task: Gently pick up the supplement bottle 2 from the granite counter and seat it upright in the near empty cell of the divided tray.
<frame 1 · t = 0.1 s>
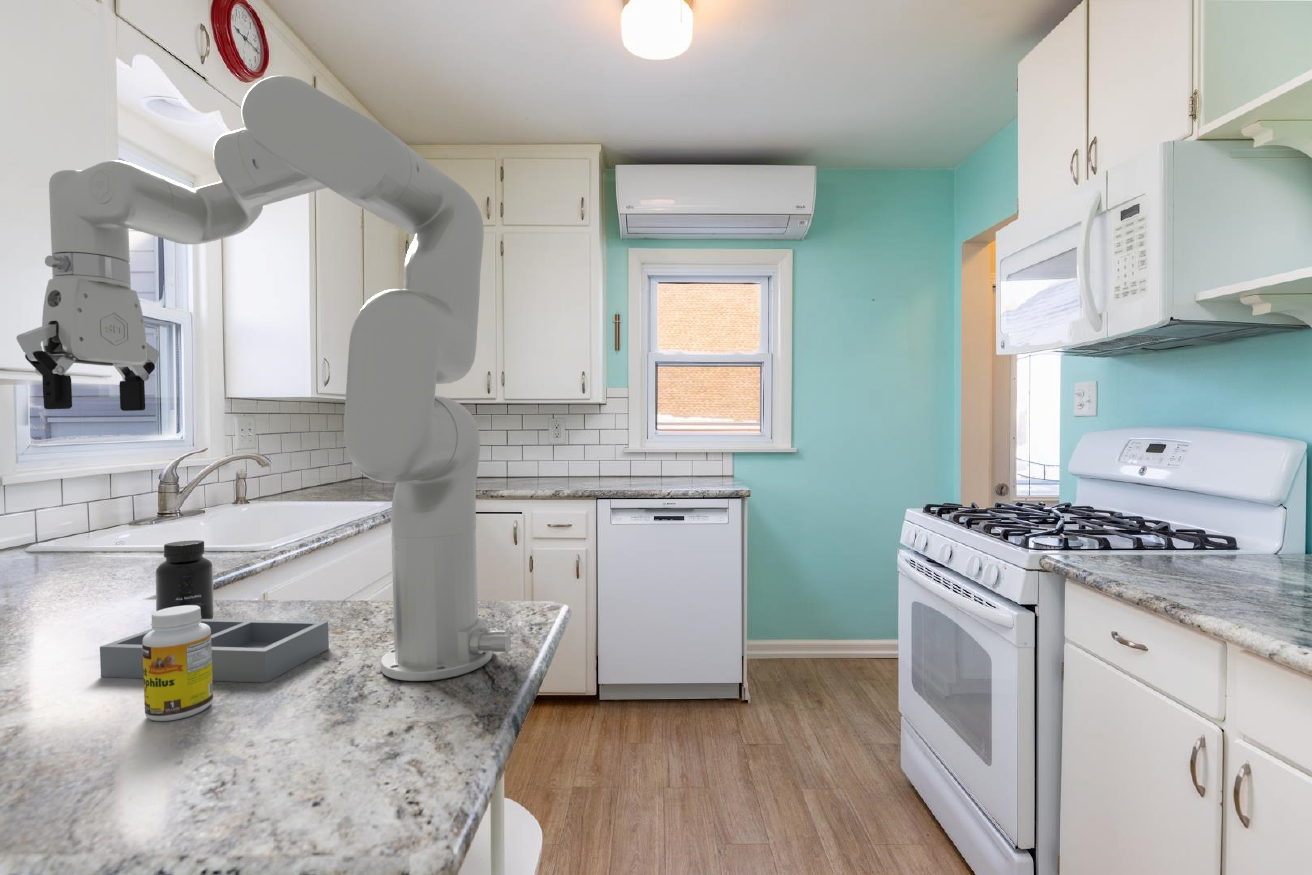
hand: (97, 409, 83), 31 cm above the counter, tool pointing down, fingers open, 9 cm apart
divided tray: (220, 662, 79), on the counter
supplement bottle: (186, 625, 96), on the counter
supplement bottle 2: (180, 713, 66), on the counter
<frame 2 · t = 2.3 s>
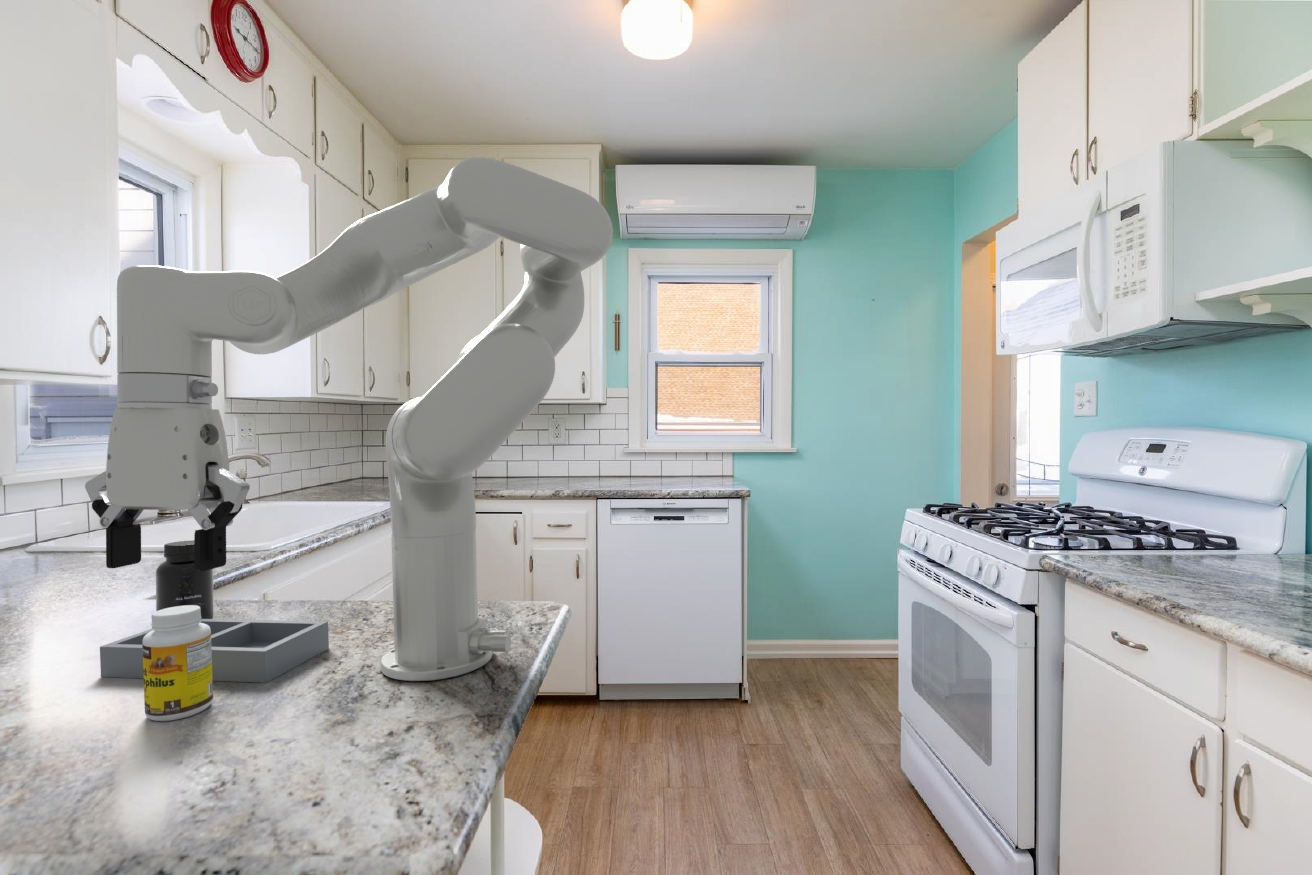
hand: (167, 566, 65), 15 cm above the counter, tool pointing down, fingers open, 9 cm apart
nothing on the counter moved.
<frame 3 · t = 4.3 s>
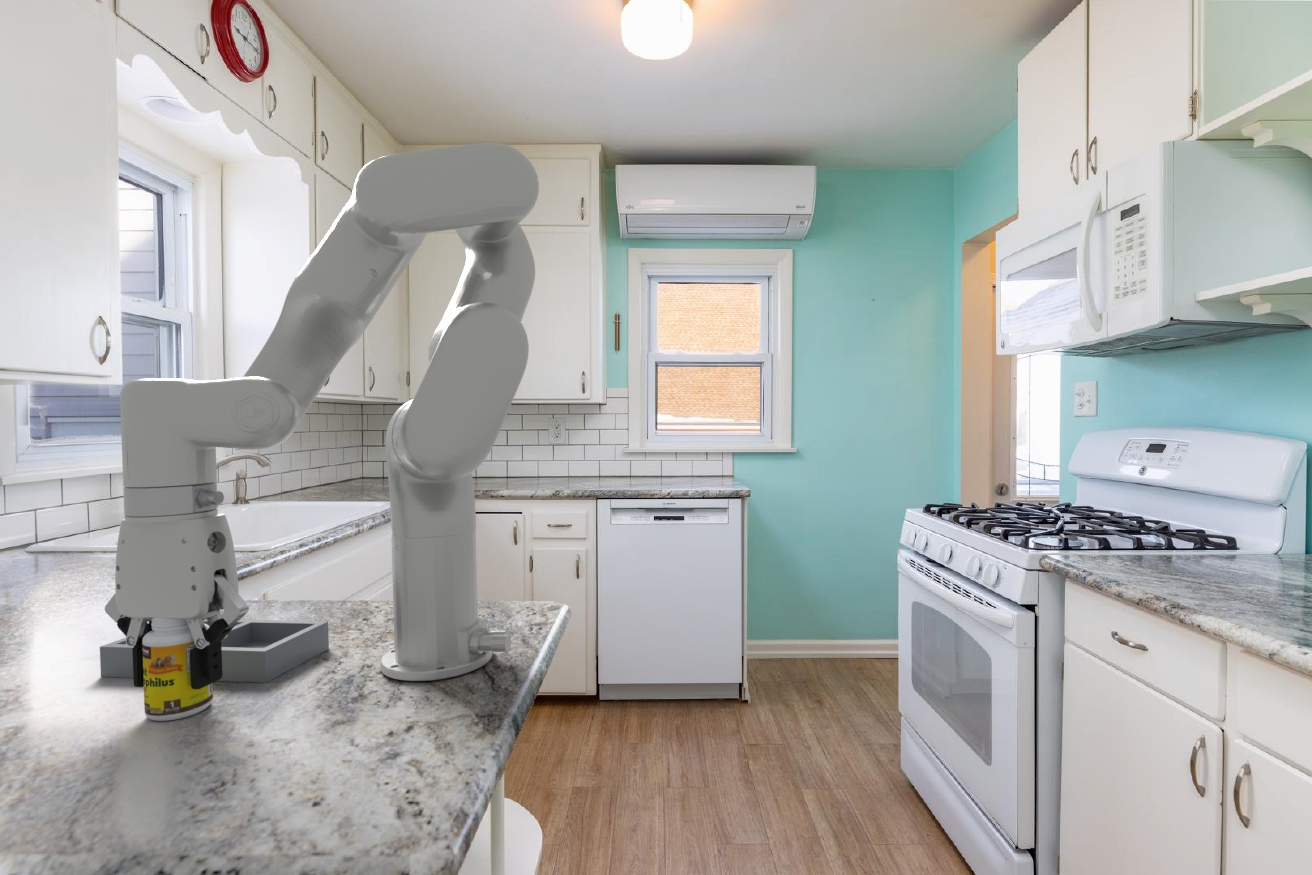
hand: (178, 681, 66), 3 cm above the counter, tool pointing down, fingers closed on supplement bottle 2, 5 cm apart
supplement bottle 2: (180, 713, 66), on the counter, touching gripper
everything else where it was.
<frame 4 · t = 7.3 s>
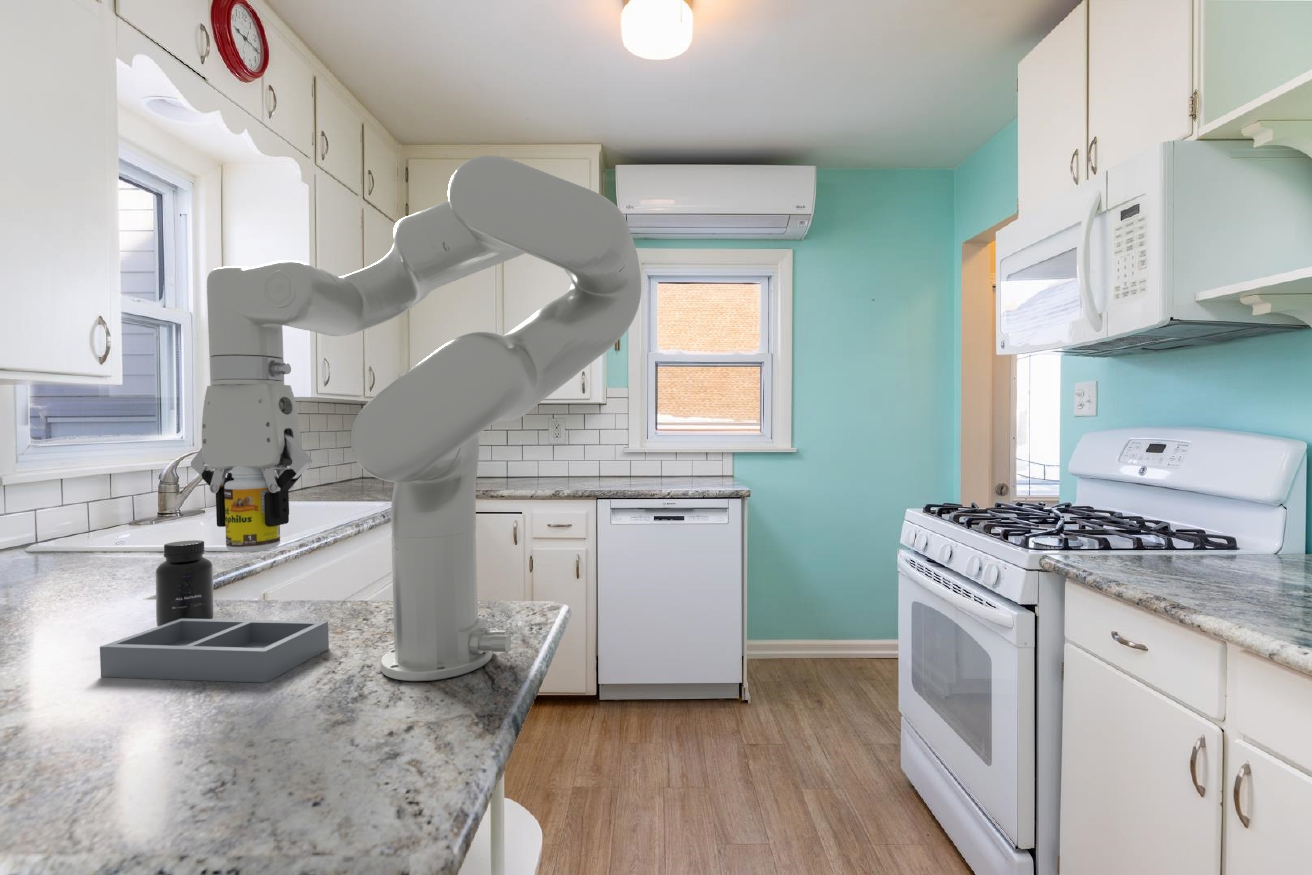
hand: (253, 523, 78), 17 cm above the counter, tool pointing down, fingers closed on supplement bottle 2, 5 cm apart
supplement bottle 2: (254, 550, 79), point 14 cm above the counter, touching gripper
everything else where it was.
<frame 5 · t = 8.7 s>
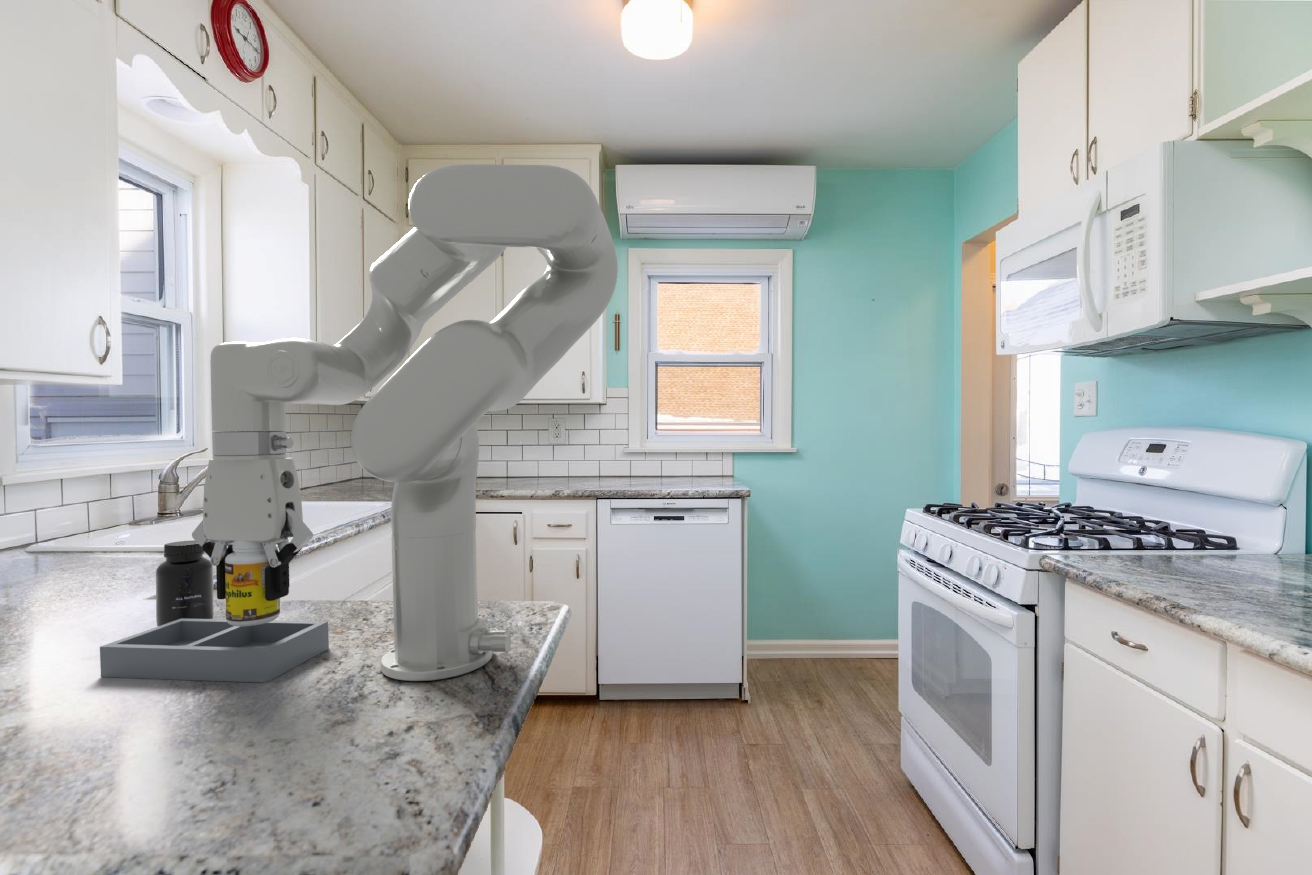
hand: (253, 595, 79), 8 cm above the counter, tool pointing down, fingers closed on supplement bottle 2, 5 cm apart
supplement bottle 2: (253, 622, 79), point 5 cm above the counter, touching gripper
everything else where it was.
when the fingers open (5 cm above the counter, at t = 10.3 s): supplement bottle 2 stays where it is, resting on divided tray.
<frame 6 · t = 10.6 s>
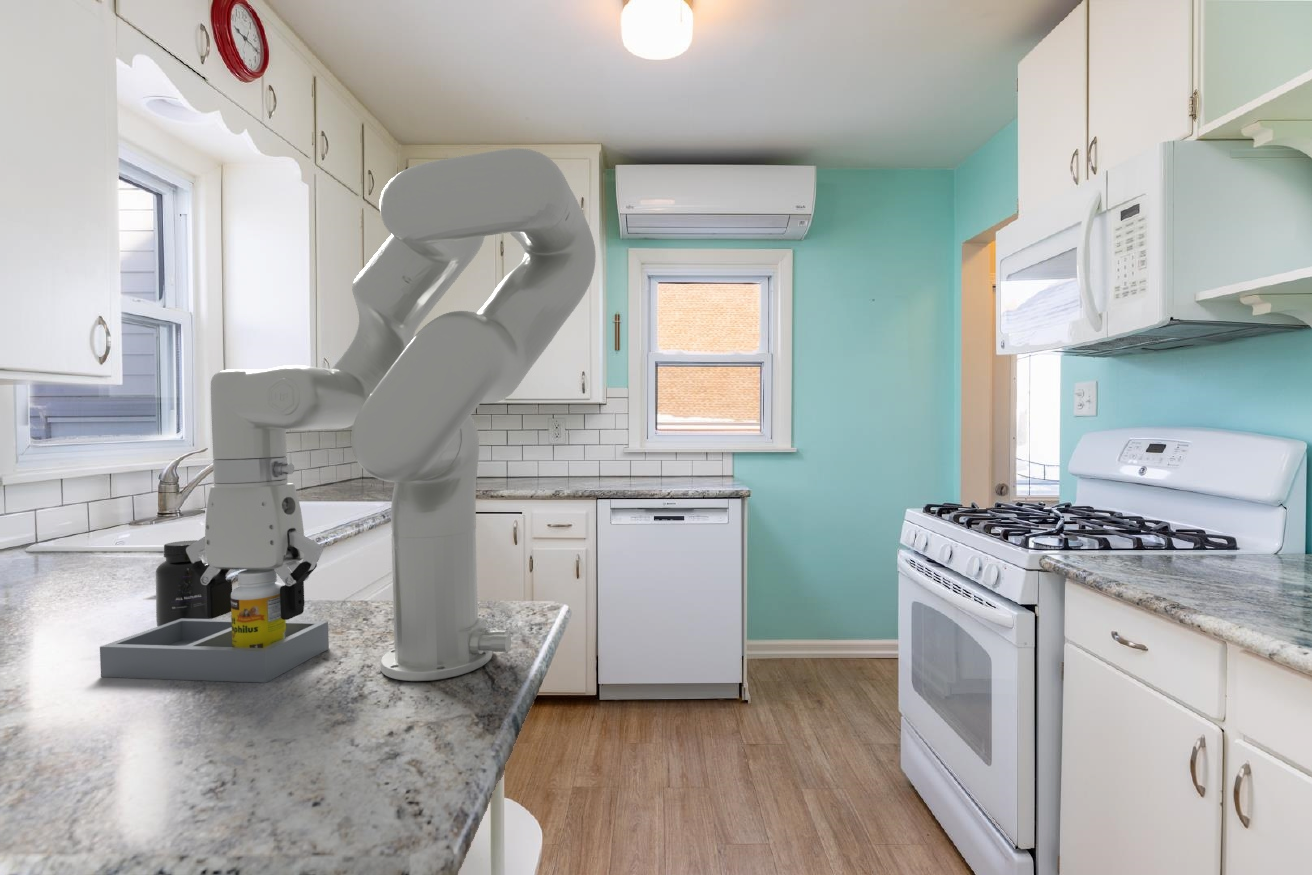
hand: (256, 615, 79), 6 cm above the counter, tool pointing down, fingers open, 9 cm apart
supplement bottle 2: (260, 656, 79), point 1 cm above the counter, touching divided tray
everything else where it was.
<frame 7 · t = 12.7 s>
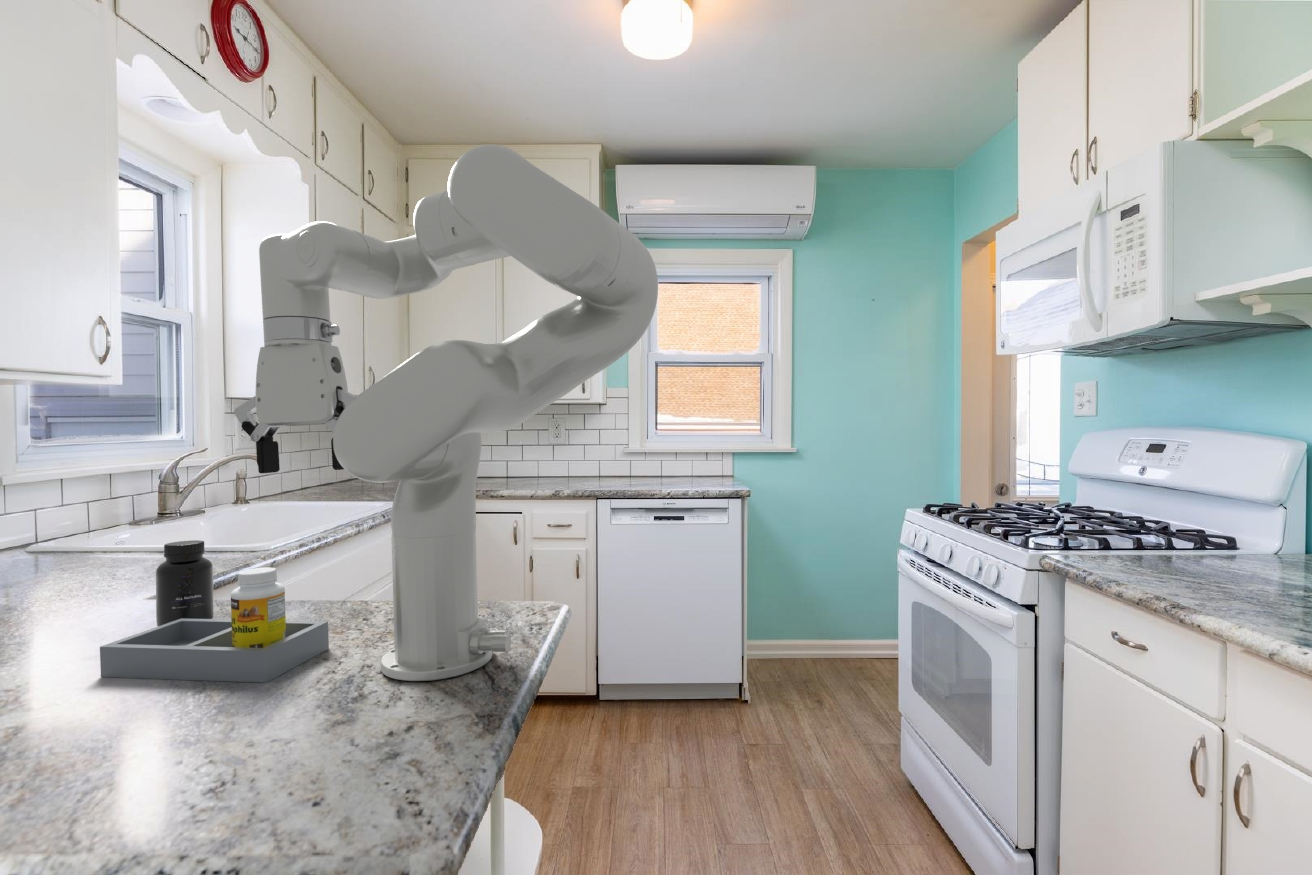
hand: (305, 470, 83), 23 cm above the counter, tool pointing down, fingers open, 9 cm apart
nothing on the counter moved.
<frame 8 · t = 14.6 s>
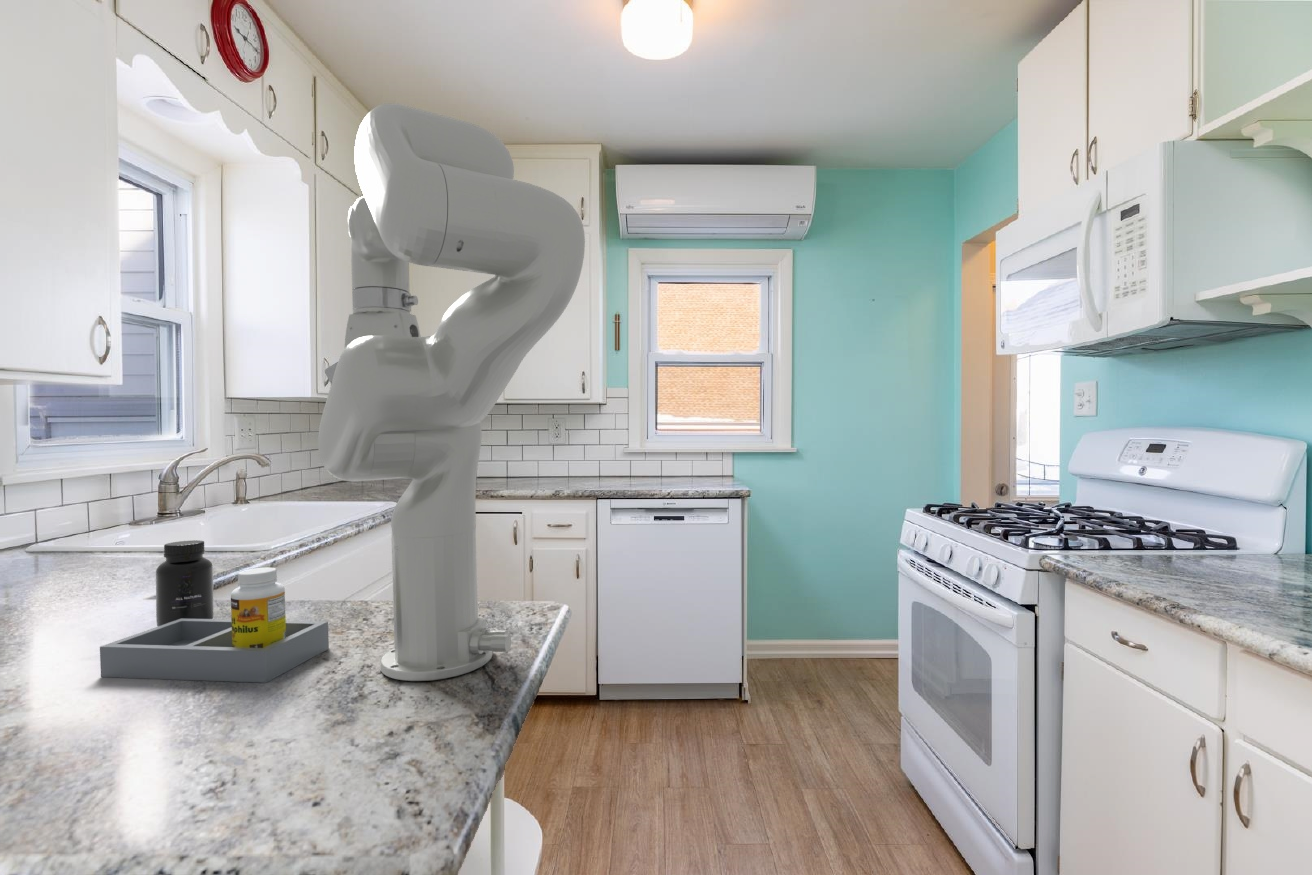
hand: (385, 426, 93), 28 cm above the counter, tool pointing down, fingers open, 9 cm apart
nothing on the counter moved.
at the end: supplement bottle 2 0.3 cm from the target spot on the divided tray, point 0.8 cm above the divided tray's base; supplement bottle 2 tilted 0°; the gripper is holding nothing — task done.
